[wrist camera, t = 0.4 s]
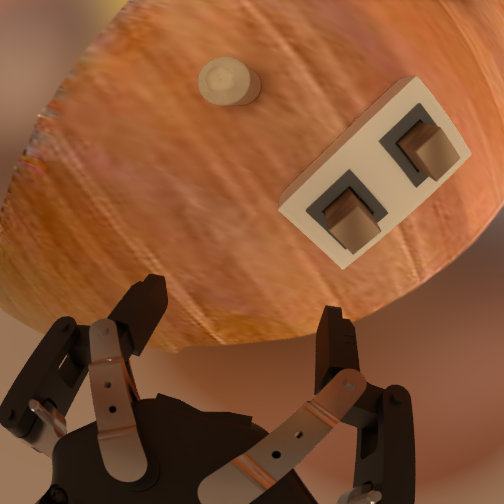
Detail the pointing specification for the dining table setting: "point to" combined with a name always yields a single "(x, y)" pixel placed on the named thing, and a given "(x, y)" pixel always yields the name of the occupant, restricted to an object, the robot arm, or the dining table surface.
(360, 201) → the peg
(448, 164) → the peg
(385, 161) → the socket board
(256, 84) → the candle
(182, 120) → the dining table surface
